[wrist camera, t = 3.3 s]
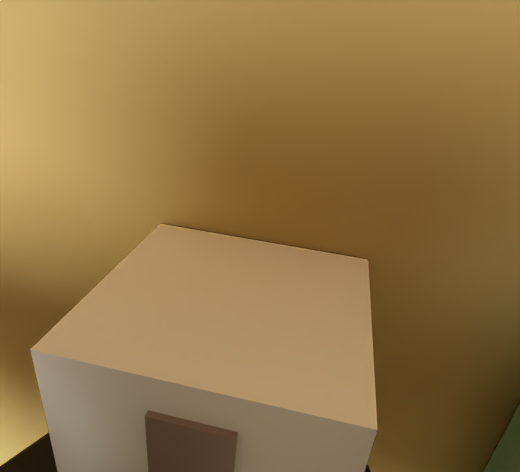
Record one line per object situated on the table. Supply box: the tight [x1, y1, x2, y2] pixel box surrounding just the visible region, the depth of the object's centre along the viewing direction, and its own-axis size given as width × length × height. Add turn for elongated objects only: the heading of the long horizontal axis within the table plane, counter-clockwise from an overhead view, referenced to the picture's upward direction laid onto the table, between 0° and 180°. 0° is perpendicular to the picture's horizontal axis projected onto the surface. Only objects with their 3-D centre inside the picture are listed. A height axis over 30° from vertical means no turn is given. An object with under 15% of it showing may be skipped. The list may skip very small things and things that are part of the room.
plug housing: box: [30, 224, 378, 472], centre depth 9 cm, size 8×4×4 cm, turn 176°
